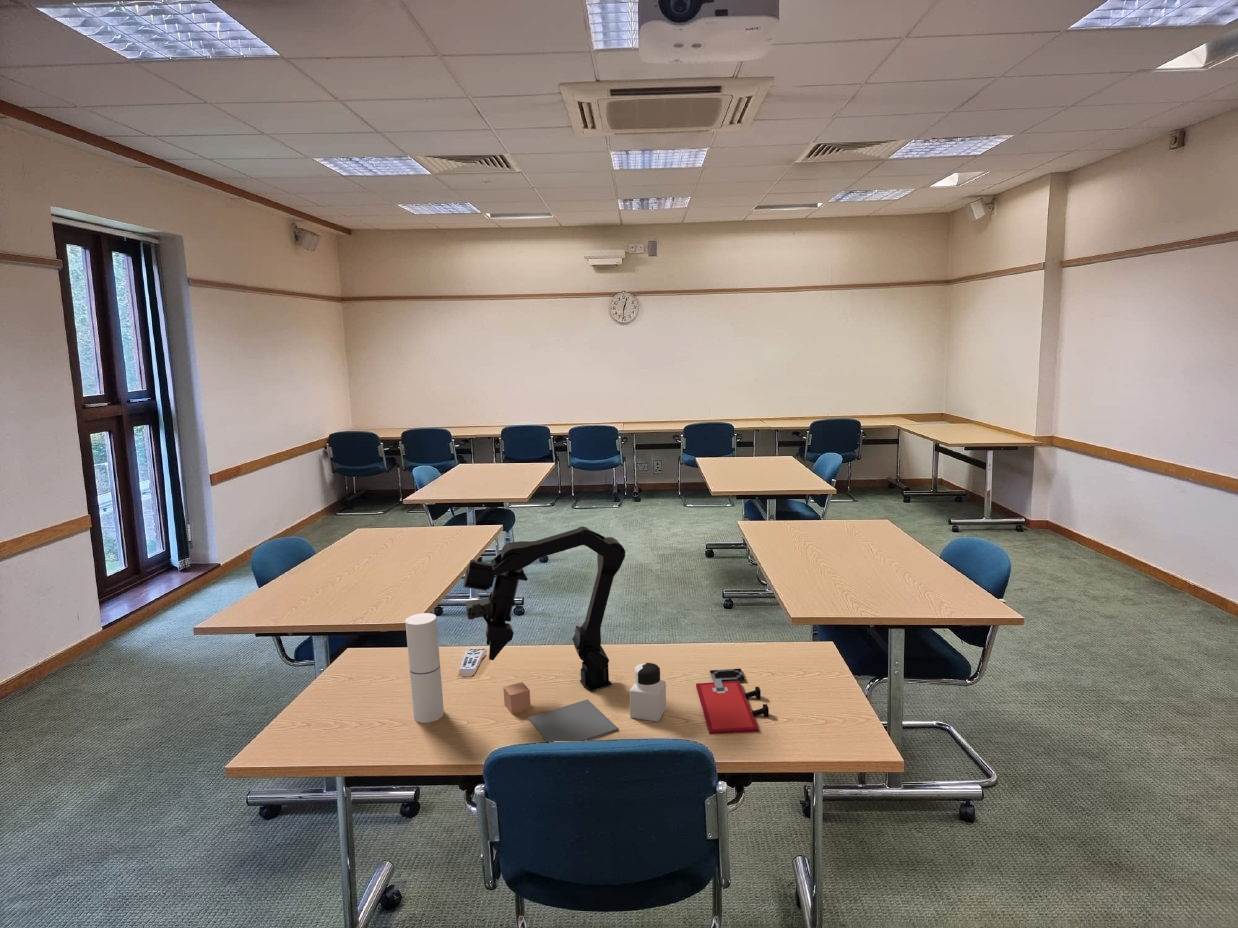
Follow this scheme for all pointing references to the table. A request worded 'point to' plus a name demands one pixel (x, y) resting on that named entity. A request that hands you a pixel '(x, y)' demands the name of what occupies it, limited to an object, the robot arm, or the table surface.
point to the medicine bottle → (647, 693)
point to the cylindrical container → (424, 667)
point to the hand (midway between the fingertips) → (489, 651)
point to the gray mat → (573, 723)
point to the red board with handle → (729, 703)
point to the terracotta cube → (517, 697)
